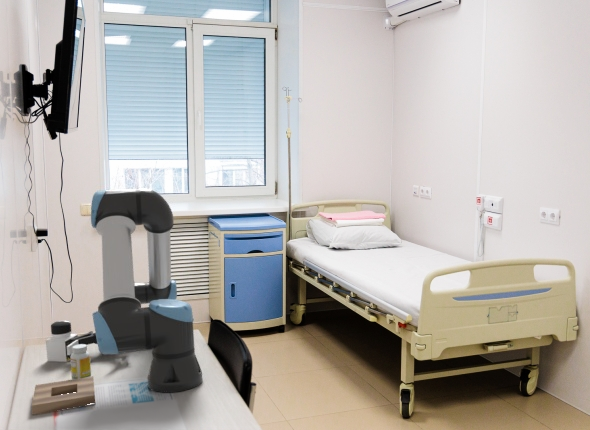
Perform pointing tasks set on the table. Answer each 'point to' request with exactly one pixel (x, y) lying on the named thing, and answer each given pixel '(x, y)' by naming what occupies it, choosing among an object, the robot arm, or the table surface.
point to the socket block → (52, 400)
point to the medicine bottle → (59, 342)
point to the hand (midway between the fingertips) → (89, 350)
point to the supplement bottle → (80, 362)
